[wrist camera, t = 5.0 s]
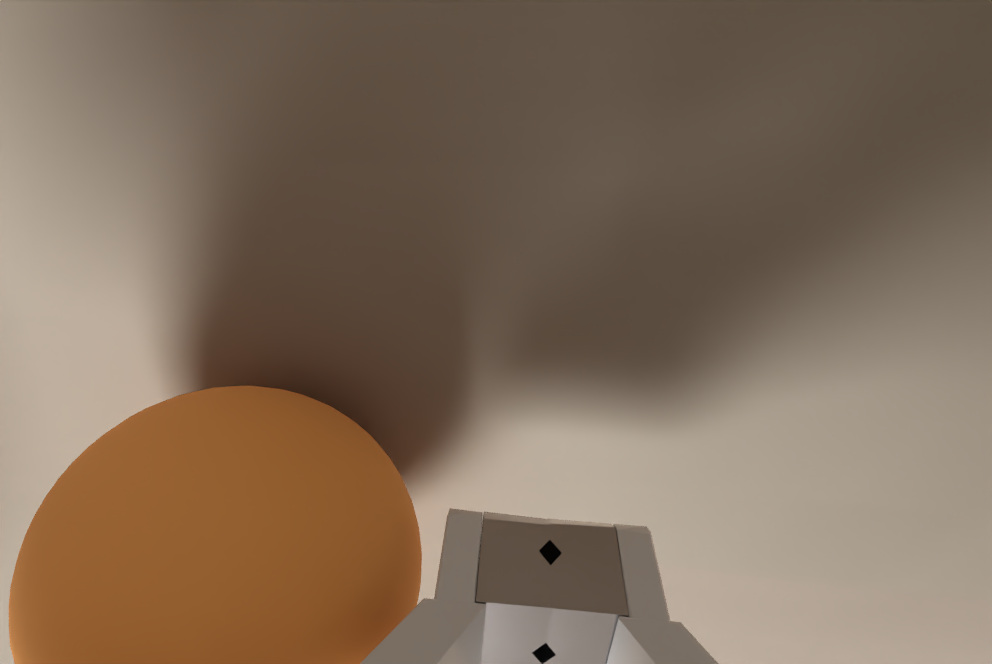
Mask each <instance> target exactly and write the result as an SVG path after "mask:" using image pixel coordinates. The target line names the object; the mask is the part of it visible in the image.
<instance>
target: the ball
mask: <svg viewBox="0 0 992 664" xmlns="http://www.w3.org/2000/svg"><path fill="white" fill-rule="evenodd" d="M421 561H422V553H421V543H420V534H419V527H418V522H417V518H416V515H415V511H414V507H413V503H412V500H411V498H410V496H409V493H408V491H407V489H406V486H405V484H404V482H403V480H402V477H401V475H400V473H399V472H398V470H397V469H396V467H395V466H394V464H393V462H392V461H391V459H390V458H389V456H388V455H387V454H386V452H385V451H384V450H383V449H382V448H381V447H380V445H379V444H378V443H377V442H376V441H375V440H374V438H373V437H372V436H371V435H370V434H369V433H367V432H366V431H365V430H364V429H363V428H361V427H360V426H359V425H358V424H357V423H356V422H354V421H353V420H351V419H350V418H349V417H347V416H346V415H344V414H342V413H341V412H339V411H338V410H336V409H334V408H333V407H331V406H329V405H327V404H324V403H322V402H320V401H317V400H315V399H313V398H310V397H307V396H305V395H302V394H299V393H295V392H291V391H287V390H283V389H276V388H268V387H259V386H249V385H248V386H228V387H214V388H209V389H205V390H200V391H195V392H191V393H187V394H183V395H179V396H176V397H173V398H171V399H168V400H166V401H163V402H161V403H158V404H156V405H153V406H151V407H148V408H146V409H144V410H142V411H140V412H138V413H136V414H135V415H133V416H131V417H129V418H128V419H126V420H125V421H123V422H122V423H120V424H119V425H117V426H116V427H114V428H113V429H111V430H110V431H108V432H107V433H105V434H104V435H103V436H101V437H100V438H99V439H98V440H96V441H95V442H94V443H93V444H92V445H90V446H89V447H88V448H87V449H86V450H85V451H84V452H83V453H82V454H81V455H80V456H79V457H78V458H77V459H76V460H75V461H74V462H73V463H72V464H71V465H70V466H69V467H68V468H67V470H66V471H65V472H64V473H63V474H62V475H61V476H60V478H59V479H58V480H57V482H56V483H55V484H54V486H53V487H52V489H51V490H50V491H49V493H48V494H47V495H46V497H45V499H44V500H43V502H42V504H41V505H40V507H39V509H38V510H37V512H36V514H35V516H34V518H33V520H32V522H31V524H30V526H29V528H28V530H27V533H26V535H25V538H24V541H23V543H22V546H21V549H20V552H19V555H18V559H17V562H16V566H15V570H14V575H13V579H12V583H11V589H10V599H9V634H10V647H11V650H12V654H13V658H14V662H15V664H360V663H361V662H362V661H363V660H364V659H365V658H366V657H367V656H368V655H369V654H370V653H371V652H372V651H373V650H374V649H375V648H376V647H377V646H378V645H379V644H380V643H381V642H382V641H383V640H384V639H385V638H386V637H387V636H388V634H389V633H390V632H391V631H392V630H393V629H394V628H395V627H396V626H397V625H398V624H399V623H400V622H401V621H402V620H403V619H404V618H405V617H406V616H407V615H408V614H409V613H410V612H411V611H412V610H413V609H414V608H415V607H416V606H417V601H418V596H419V591H420V583H421Z"/></svg>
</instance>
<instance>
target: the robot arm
mask: <svg viewBox="0 0 992 664" xmlns="http://www.w3.org/2000/svg"><path fill="white" fill-rule="evenodd" d="M482 516H483V522H482ZM481 529H482V533H481ZM480 541H481V544H480ZM479 553H480V555H479ZM360 664H718V663H717V662H716V661H715V660H714V658H713V657H712V656H711V655H710V654H709V653H708V652H707V651H706V650H705V649H704V647H703V646H702V645H701V644H700V643H699V642H698V641H697V640H696V639H695V638H694V636H693V635H692V634H691V633H690V632H689V631H688V630H687V629H686V628H685V627H684V625H683V624H682V623H681V622H673V621H670V618H669V613H668V608H667V604H666V599H665V595H664V590H663V586H662V581H661V577H660V572H659V568H658V563H657V558H656V554H655V549H654V545H653V540H652V536H651V532H650V531H649V529H648V528H647V527H644V526H631V525H619V524H614V525H612V524H606V523H594V522H582V521H570V520H558V519H542V518H533V517H525V516H516V515H508V514H499V513H491V512H484V514H483V512H476V511H467V510H459V509H451V508H450V510H449V513H448V515H447V521H446V527H445V533H444V540H443V546H442V552H441V559H440V565H439V571H438V578H437V584H436V590H435V597H434V599H425V598H424V599H423V600H422V601H421V602H420V603H419V604H418V605H417V606H416V607H415V608H414V609H413V610H412V611H411V612H410V613H409V614H408V615H407V616H406V617H405V618H404V619H403V620H402V621H401V622H400V623H399V624H398V625H397V626H396V627H395V628H394V629H393V630H392V631H391V632H390V633H389V634H388V636H387V637H386V638H385V639H384V640H383V641H382V642H381V643H380V644H379V645H378V646H377V647H376V648H375V649H374V650H373V651H372V652H371V653H370V654H369V655H368V656H367V657H366V658H365V659H364V660H363V661H362V662H361V663H360Z"/></svg>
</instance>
